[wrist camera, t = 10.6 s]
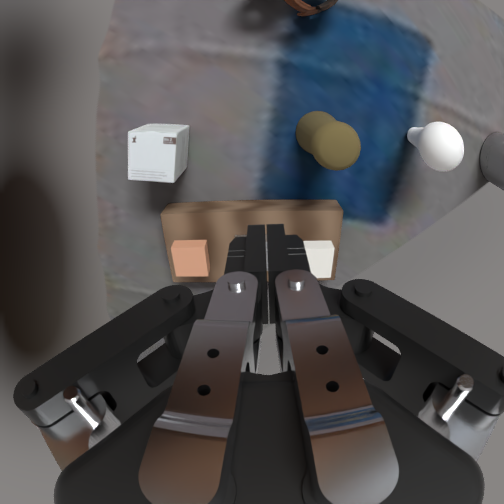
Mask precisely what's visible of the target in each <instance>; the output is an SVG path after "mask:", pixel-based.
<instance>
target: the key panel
mask: <svg viewBox="0 0 504 504" xmlns="http://www.w3.org/2000/svg"><path fill="white" fill-rule="evenodd" d="M160 215H161V221H162V227H163V233H164V238H165V244H166V249H167V254H168V259H169V264H170V269H171V274H172V279H173V282H217V280H218V279H219V278H220V277H221V276H223V275H224V271H225V266H226V260H227V255H228V249H229V244H230V242H231V241H232V240H233V239H234V238H235V235H247V228H248V225H262V224H265V234H267V226H266V224H284V230H285V235H298V236H299V237H300V238H301V239H302V240H303V241H332V244H333V246H334V248H335V249H334V257H333V264H332V271H331V278H317V280H334V279H335V272H336V265H337V258H338V251H339V243H340V235H341V227H342V218H343V210H342V208H341V207H340V205H339V204H338V202H337V201H336V200H237V201H207V202H185V203H168V204H167V206H166V207H165V209H164V210H163V211H162V213H161V214H160ZM174 240H207V246H208V254H209V262H210V271H209V275H208V276H176V273H175V268H174V263H173V257H172V252H171V246H172V244H173V242H174ZM267 282H269V280H268V271H267Z"/></svg>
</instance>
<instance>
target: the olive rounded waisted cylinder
mask: <svg viewBox="0 0 504 504" xmlns="http://www.w3.org/2000/svg"><path fill="white" fill-rule="evenodd" d="M296 138H297V141H298V143H299V145H300V146H301V147H302V148H303V149H304V150H305V151H307V152H309V153H311V154H313V156H314V158H315V159H316V160H317V162H318V163H319V164H320V165H322V166H323V167H325V168H327V169H331V170H344V169H346V168H348V167H350V166H351V165H353V164H354V163H355V162H356V160H357V158H358V157H359V154H360V150H361V146H360V140H359V137H358V135H357V133H356V132H355V131H354V129H353V128H352V127H351V126H349V125H347V124H346V123H343V122H339V121H336V120H335V119H334V118H333V117H332V116H331V115H329V114H328V113H326V112H321V111H314V112H310V113H308V114H306V115H304V116H303V117H302V118H301V119H300V120H299V122H298V124H297V127H296Z"/></svg>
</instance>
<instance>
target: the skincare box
mask: <svg viewBox="0 0 504 504" xmlns="http://www.w3.org/2000/svg"><path fill="white" fill-rule="evenodd" d="M189 127H190V126H189V125H177V124H147V125H144V126H141V127H139V128H136V129H134V130H131V131H129V132H128V180H140V181H154V182H168V183H174V182H175V181H176V180H177V179H178V177H179V176H180V175H181V174H182V173H183V171H184V170H185V169H186V168H187V159H188V143H189Z"/></svg>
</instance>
